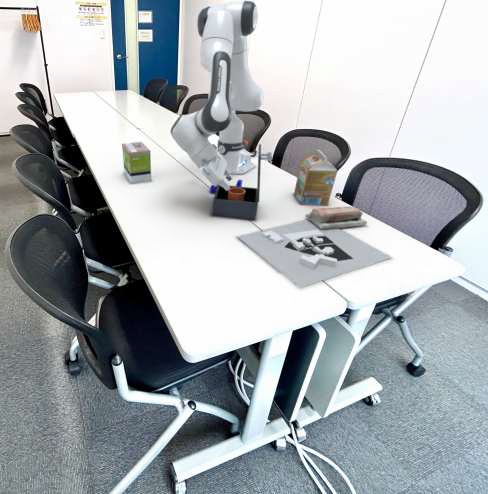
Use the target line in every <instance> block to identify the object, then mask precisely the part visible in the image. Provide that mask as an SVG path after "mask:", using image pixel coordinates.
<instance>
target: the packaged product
mask: <svg viewBox="0 0 488 494" xmlns="http://www.w3.org/2000/svg"><path fill="white" fill-rule="evenodd" d="M304 216H305V218H307V220H311V221H312V222H313V223H314V224H316V225H317V226H318V227H320V228H321V229H326V228H338V229H341V228H343V229H345V228H351V227H360V226H362V227H363V226H366V225H367V224H368V221H367V220H365V219H363V218H362V216H363V211H361V209H360V208H357V207H353V206H333V207H318V208H317V207H315V208H312V209H311V212H310V213H306V214H305V215H304Z"/></svg>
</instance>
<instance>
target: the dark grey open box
mask: <svg viewBox="0 0 488 494" xmlns="http://www.w3.org/2000/svg"><path fill="white" fill-rule="evenodd" d="M230 188H242V189H244V190H245V191H246V192H245V199H244V201H234V200H227V198H228V190H227V191H226V190H225V189H224V188H223V187H221V186H220V185H218V186H217V189H216V193H214V196H213V198H212V199H213V200H212V201H213V203H212V213H211V216H212V217H219V218H227V219H237V220H245V221H254V222H255V221H256V219H257V218H256V217H257V211H258V206H259V202H257V187H249V186H242V187H238V186H236V185H230Z"/></svg>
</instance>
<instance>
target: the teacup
mask: <svg viewBox="0 0 488 494" xmlns="http://www.w3.org/2000/svg"><path fill="white" fill-rule="evenodd" d="M245 192H246V191H245V190H244V189H242V188H230V189H229V190H228V198H227V200H234V201H244V199H245Z"/></svg>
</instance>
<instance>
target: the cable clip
mask: <svg viewBox="0 0 488 494" xmlns="http://www.w3.org/2000/svg"><path fill="white" fill-rule="evenodd" d="M217 186H218V185H217ZM217 186H216V187H215V186H213V185H212V184H211V185H210V194H215V193H216V189H217ZM235 186H238V187H243V179H237V182H236V184H235Z"/></svg>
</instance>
